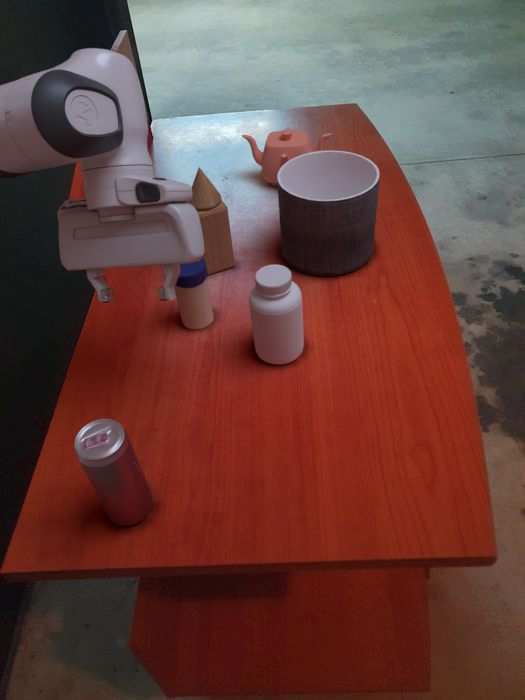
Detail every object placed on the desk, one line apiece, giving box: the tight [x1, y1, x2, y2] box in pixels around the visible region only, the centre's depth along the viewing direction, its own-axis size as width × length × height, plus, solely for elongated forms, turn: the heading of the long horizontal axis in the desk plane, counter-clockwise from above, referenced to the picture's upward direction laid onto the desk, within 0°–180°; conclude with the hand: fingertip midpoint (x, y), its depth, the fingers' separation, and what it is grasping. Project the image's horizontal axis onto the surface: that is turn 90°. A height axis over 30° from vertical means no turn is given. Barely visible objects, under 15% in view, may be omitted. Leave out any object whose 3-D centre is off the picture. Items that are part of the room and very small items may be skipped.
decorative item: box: [186, 166, 235, 276], centre depth 103 cm, size 7×7×20 cm
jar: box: [174, 277, 215, 330], centre depth 95 cm, size 6×6×11 cm
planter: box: [277, 150, 381, 277], centre depth 105 cm, size 18×18×16 cm
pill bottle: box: [248, 264, 305, 366], centre depth 87 cm, size 8×8×15 cm
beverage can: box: [73, 418, 154, 526], centre depth 69 cm, size 6×6×15 cm
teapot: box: [241, 127, 334, 187], centre depth 127 cm, size 14×14×11 cm
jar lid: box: [175, 258, 209, 288], centre depth 92 cm, size 6×6×2 cm
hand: (137, 301), depth 76 cm, fingers open, 8 cm apart
